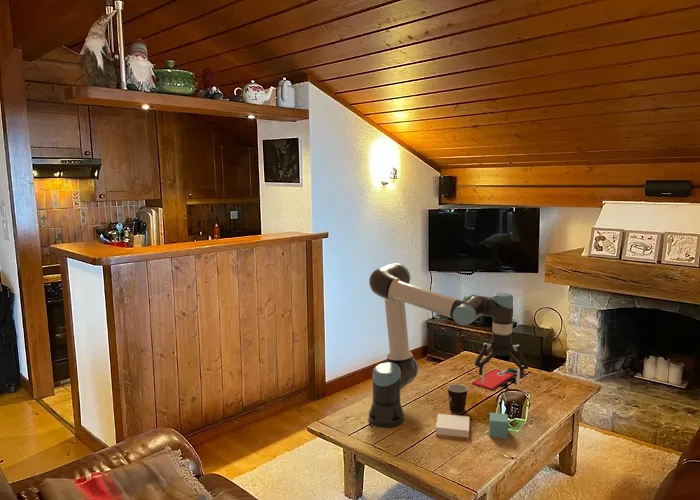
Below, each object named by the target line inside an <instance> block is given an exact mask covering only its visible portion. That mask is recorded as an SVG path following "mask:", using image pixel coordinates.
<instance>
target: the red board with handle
mask: <svg viewBox="0 0 700 500" xmlns="http://www.w3.org/2000/svg"><path fill="white" fill-rule="evenodd" d="M523 373H525V371H524V370H523ZM515 376H516V377H515ZM508 382H512V383H511V384H515V383H517V369H515V368H511V367H508V368H507V369H506V370H505V369H503V370H498V369H495V368H494V369H492V370H490V371H489V372H487V373H486V374H484V384H482V376H481V377H479V378H478V379H476V380H474V381H472V382H471V385H474V386H477V387H480V388H484V389H486V390H489V391H494V390H495V389H497V388H499V387H503V388H504V389H508V388H509V385H508V384H509V383H508Z"/></svg>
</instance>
